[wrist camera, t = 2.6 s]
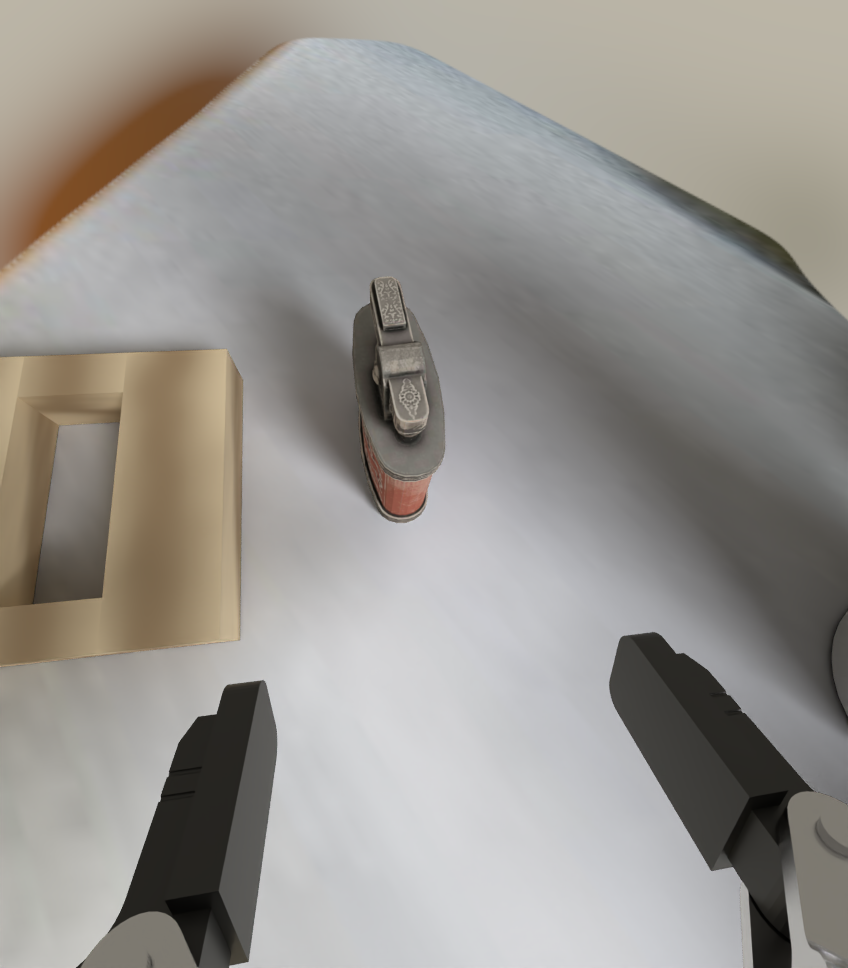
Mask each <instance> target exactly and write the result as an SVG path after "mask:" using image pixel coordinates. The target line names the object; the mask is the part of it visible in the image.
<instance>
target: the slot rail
mask: <svg viewBox="0 0 848 968" xmlns="http://www.w3.org/2000/svg"><path fill="white" fill-rule="evenodd" d="M113 422H120V427H119V437H118V447H117V457H116V466H115V476H114V486H113V496H112V506H111V515H110V525H109V535H108V545H107V555H106V564H105V574H104V584H103V594H102V598H93V599H83V600H72V601H62V602H52V603H42V604H33V599H34V592H35V585H36V578H37V572H38V565H39V558H40V551H41V544H42V537H43V531H44V524H45V517H46V510H47V503H48V497H49V490H50V483H51V476H52V469H53V462H54V456H55V449H56V442H57V435H58V428H59V425H76V424H94V423H113ZM242 424H243V380H242V378H241V376H240V374H239V372H238V370H237V368H236V366H235V364H234V362H233V360H232V358H231V356H230V354H229V352H228V351H227V349H215V350H187V351H160V352H132V353H105V354H77V355H50V356H22V357H0V667H5V666H14V665H23V664H32V663H41V662H50V661H59V660H68V659H77V658H86V657H94V656H103V655H112V654H121V653H130V652H139V651H148V650H157V649H166V648H175V647H184V646H192V645H201V644H210V643H219V642H228V641H237V640H240V593H241V508H242Z"/></svg>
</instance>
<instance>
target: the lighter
mask: <svg viewBox="0 0 848 968" xmlns="http://www.w3.org/2000/svg"><path fill="white" fill-rule="evenodd" d="M352 355H353V366H354V376H355V387H356V397H357V401H358V405H359V423H358V425H359V436H360V446H361V457H362V461H363V465H364V469H365V473H366V477H367V481H368V485H369V487H370V490H371V492H372V495H373V497H374V500H375V503H376V505H377V508H378V510H379V512H380V513H381V515H382V516H383V517H384V518H386V519H387V520H389V521H392V522H395V523H407V522H410V521H413V520H415V519H416V518H417V517H419V516H420V515H421V514H422V512H423V511H424V509H425V506H426V503H427V498H428V490H427V489H428V486H429V483H430V480H431V477H432V474H434V473H435V472H436V471H437V469H438V468H439V466H440V465H441V462H442V460H443V457H444V452H445V422H444V408H443V402H442V396H441V389H440V383H439V377H438V374H437V371H436V368H435V365H434V362H433V359H432V356H431V353H430V349H429V346H428V344H427V342H426V339H425V337H424V335H423V333H422V331H421V329H420V327H419V325H418V323H417V320H416V318H415V316H414V315H413V313H412V312H411V311H410V309H408V308H407V307H406V305H405V301H404V297H403V292H402V288H401V285H400V282H399V281H398V280H397V279H395V278H394V277H379V278H377V279H374V280H373V281H371V283H370V303H369V304H368V305H366V306H364V307H362V308H361V309H360V310H359V312H358V313H357V314H356V316H355V319H354V327H353V350H352Z"/></svg>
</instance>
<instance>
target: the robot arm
mask: <svg viewBox="0 0 848 968" xmlns="http://www.w3.org/2000/svg"><path fill="white" fill-rule="evenodd" d="M832 668H833V677H834V681H835V685H836V688H837V692H838V696H839V698H840V701H841V703H842V705H843V707H844V710H845V712H846V714H847V716H848V611H847V613H846V614H845V615H844V617H843V618H842V620H841V621H840V623H839V625H838V628H837V630H836V633H835V636H834V639H833V648H832ZM609 687H610V694H611V698H612V701H613V704H614V707H615V709H616V710H617V712H618V714H619V716H620V717H621V719H622V721H623V722H624V724H625V726H626V727H627V729H628V731H629V733H630V734H631V736H632V738H633V739H634V741H635V743H636V744H637V746H638V748H639V749H640V751H641V753H642V755H643V756H644V758H645V760H646V761H647V763H648V765H649V766H650V768H651V770H652V771H653V773H654V775H655V777H656V778H657V780H658V782H659V783H660V785H661V787H662V788H663V790H664V792H665V793H666V795H667V797H668V799H669V800H670V802H671V804H672V805H673V807H674V809H675V810H676V812H677V814H678V815H679V817H680V819H681V820H682V822H683V824H684V826H685V827H686V829H687V831H688V832H689V834H690V836H691V837H692V839H693V841H694V842H695V844H696V846H697V848H698V849H699V851H700V853H701V854H702V856H703V858H704V859H705V861H706V863H707V864H708V866H709V868H710V870H711V871H714V870H719V869H724V868H729V867H734V869H735V870H736V872H737V874H738V875H739V877H740V878H741V880H742V882H741V886H740V911H741V931H742V951H743V968H848V805H846V804H845V803H843V802H841V801H839V800H837V799H835V798H833V797H831V796H828V795H825V794H822V793H817V792H814V791H813V790H812V789H811V788H810V787H809V786H808V785H807V784H806V783H805V782H804V781H803V779H802V778H801V777H800V776H799V775H798V774H797V772H796V771H795V770H794V769H793V768H792V767H791V766H790V764H789V763H788V762H787V761H786V760H785V759H784V758H783V756H782V755H781V754H780V753H779V752H778V751H777V749H776V748H775V747H774V746H773V745H772V744H771V743H770V741H769V740H768V739H767V738H766V737H765V736H764V734H763V733H762V732H761V731H760V730H759V729H758V728H757V726H756V725H755V724H754V723H753V722H752V721H751V719H750V718H749V717H748V716H747V715H746V714H745V713H742V711H741V708H740V707H739V706H738V704H737V703H736V702H735V701H734V700H733V699H732V698H731V696H730V695H727V694H726V691H725V689H724V688H723V687H722V686H721V685H720V684H719V683H718V681H717V680H716V679H715V678H714V677H713V676H712V674H711V673H710V672H709V671H708V670H707V669H705V668H704V667H703V666H701V665H700V664H698V663H697V662H696V661H694V660H693V659H691V658H690V657H689V656H687V655H686V654H684V653H681V654H676V653H675V652H674V650H673V649H672V648H671V647H670V646H669V644H668V643H667V642H666V641H665V639H664V638H663V637H662V636H661V635H659V634H658V633H655V632H651V633H643V634H635V635H628V636H623V637H621V639H620V641H619V644H618V648H617V652H616V656H615V661H614V665H613V669H612V673H611V677H610V682H609ZM276 757H277V730H276V724H275V720H274V716H273V711H272V707H271V703H270V698H269V694H268V690H267V686H266V683H265V681H264V680H262V681H254V682H246V683H238V684H230V685H227V686H226V687H225V688H224V691H223V693H222V697H221V700H220V704H219V708H218V711H217V714H216V715H208V716H201V717H198V718H197V719H196V720H195V722H194V723H193V724H192V726H191V727H190V728H189V730H188V731H187V732H186V734H185V735H184V736H183V738H182V739H181V740H180V742H179V744H178V747H177V750H176V753H175V755H174V758H173V761H172V764H171V767H170V770H169V777H167V779H166V782H165V785H164V788H163V791H162V794H161V801H160V802H158V805H157V808H156V811H155V814H154V817H153V820H152V823H151V826H150V829H149V832H148V835H147V838H146V841H145V844H144V846H143V849H142V852H141V855H140V858H139V861H138V864H137V867H136V870H135V873H134V876H133V879H132V882H131V885H130V888H129V890H128V893H127V896H126V899H125V902H124V904H123V907H122V909H121V911H120V913H119V915H118V917H117V919H116V921H115V923H114V924H113V926H112V927H111V929H110V931H109V932H108V934H107V935H106V936H105V937H104V938H103V939H102V940H101V941H100V942H99V943H98V944H97V945H96V946H95V948H94V949H93V950H92V951H91V953H90V954H89V955H88V957H87V958H86V959H85V960H84V961H83V962H82V963H81V964H80V965H79V966H78V967H76V968H229V966H230V965H235V964H240V963H245V962H248V961H249V954H250V947H251V940H252V932H253V925H254V918H255V910H256V903H257V896H258V889H259V881H260V874H261V867H262V859H263V852H264V845H265V838H266V830H267V823H268V816H269V808H270V801H271V794H272V787H273V779H274V772H275V765H276Z"/></svg>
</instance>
